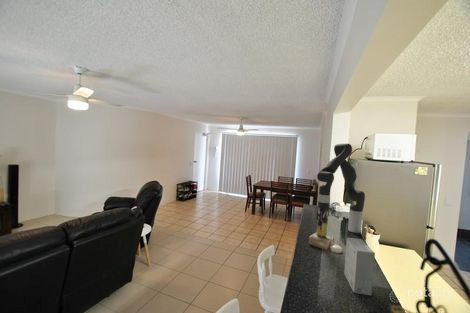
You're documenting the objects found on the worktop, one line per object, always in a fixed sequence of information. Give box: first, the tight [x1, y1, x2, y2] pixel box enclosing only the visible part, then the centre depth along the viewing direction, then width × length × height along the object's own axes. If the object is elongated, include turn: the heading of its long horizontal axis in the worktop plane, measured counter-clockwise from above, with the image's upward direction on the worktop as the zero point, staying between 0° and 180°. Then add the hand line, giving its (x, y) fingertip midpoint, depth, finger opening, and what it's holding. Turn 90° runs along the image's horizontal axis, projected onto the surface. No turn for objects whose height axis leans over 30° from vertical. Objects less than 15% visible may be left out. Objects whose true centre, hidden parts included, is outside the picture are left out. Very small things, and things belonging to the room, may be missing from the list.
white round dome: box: [329, 244, 343, 254], centre depth 137 cm, size 7×7×2 cm
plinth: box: [308, 231, 335, 251], centre depth 145 cm, size 12×12×5 cm
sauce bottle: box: [316, 209, 329, 238], centre depth 144 cm, size 6×6×20 cm
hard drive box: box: [343, 237, 376, 296], centre depth 103 cm, size 16×8×20 cm, turn 168°
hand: (322, 224), depth 145 cm, fingers open, 8 cm apart
